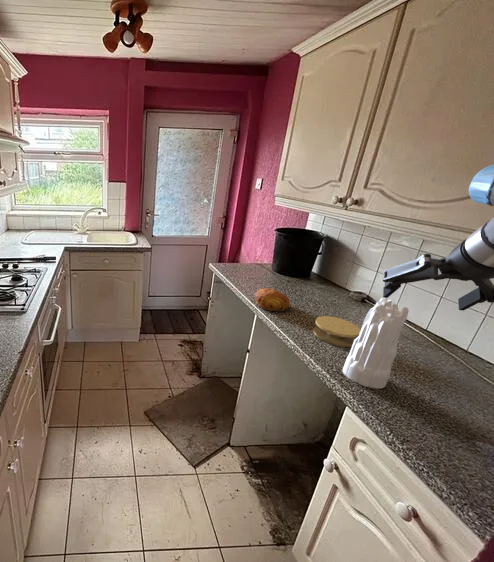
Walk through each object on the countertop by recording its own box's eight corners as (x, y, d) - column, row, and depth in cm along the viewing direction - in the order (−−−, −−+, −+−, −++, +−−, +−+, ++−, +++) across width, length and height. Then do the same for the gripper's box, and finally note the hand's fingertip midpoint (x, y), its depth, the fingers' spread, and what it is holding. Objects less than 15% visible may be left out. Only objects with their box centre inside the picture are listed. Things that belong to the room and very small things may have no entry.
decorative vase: (388, 393, 88) (422, 315, 79) (343, 379, 93) (370, 304, 84) (382, 373, 97) (412, 300, 87) (341, 361, 102) (366, 291, 93)
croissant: (252, 312, 138) (255, 297, 134) (253, 295, 150) (256, 280, 147) (288, 318, 133) (293, 302, 129) (286, 300, 145) (290, 285, 141)
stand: (347, 330, 121) (351, 319, 119) (363, 350, 109) (368, 337, 107) (307, 325, 124) (311, 313, 122) (319, 343, 112) (323, 331, 110)
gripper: (400, 258, 57) (355, 302, 75) (605, 283, 47) (497, 326, 65) (400, 224, 59) (357, 274, 77) (595, 242, 50) (494, 294, 68)
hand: (421, 298), depth 71 cm, fingers open, 13 cm apart
